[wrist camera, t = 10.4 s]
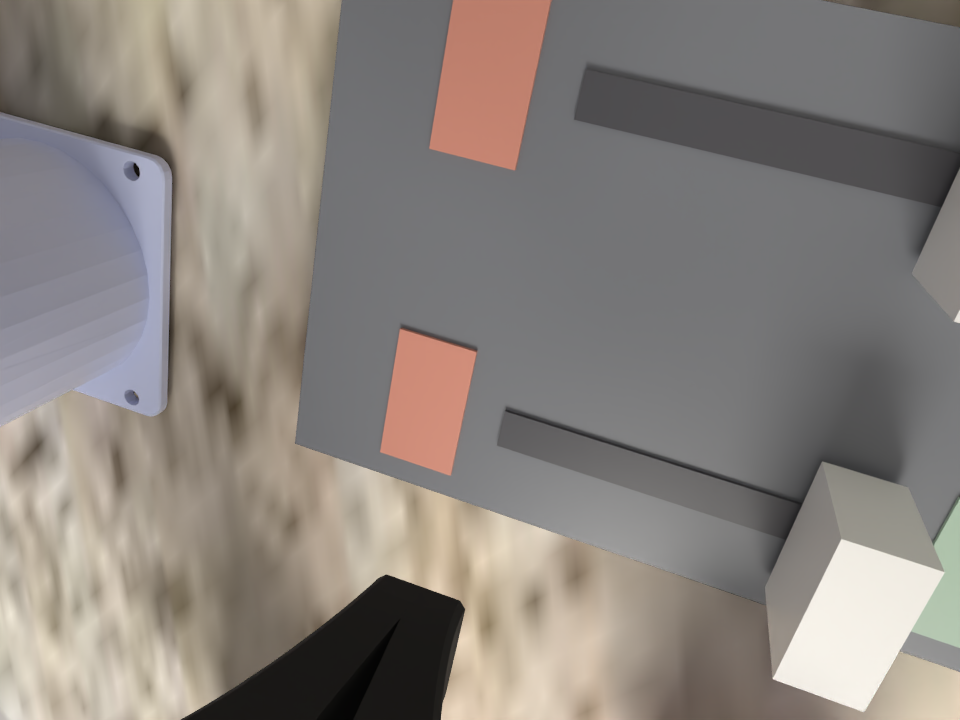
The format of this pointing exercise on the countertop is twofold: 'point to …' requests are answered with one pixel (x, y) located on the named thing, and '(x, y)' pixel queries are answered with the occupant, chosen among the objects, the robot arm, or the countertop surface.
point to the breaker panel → (642, 270)
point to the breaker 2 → (943, 256)
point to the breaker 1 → (848, 586)
